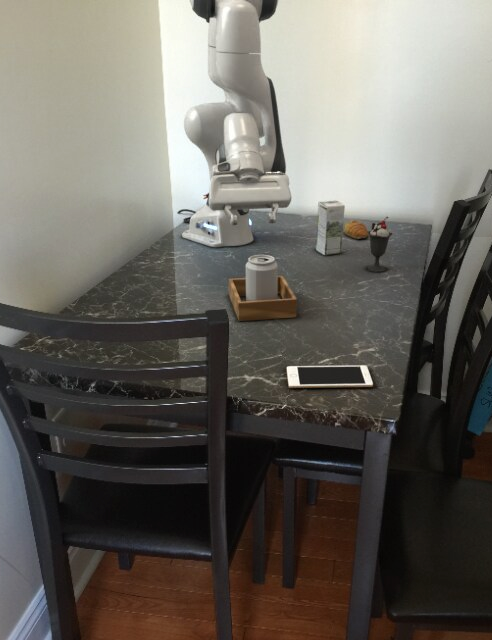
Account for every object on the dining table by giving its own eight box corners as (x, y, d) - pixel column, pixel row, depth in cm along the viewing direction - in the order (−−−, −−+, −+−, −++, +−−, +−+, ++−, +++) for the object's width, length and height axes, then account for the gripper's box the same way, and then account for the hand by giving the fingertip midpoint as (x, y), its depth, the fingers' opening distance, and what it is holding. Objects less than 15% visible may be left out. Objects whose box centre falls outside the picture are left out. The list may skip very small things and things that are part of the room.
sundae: (387, 274, 177) (393, 219, 169) (363, 272, 178) (367, 217, 170) (389, 266, 183) (395, 212, 175) (365, 264, 184) (370, 210, 176)
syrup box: (332, 247, 196) (334, 199, 188) (341, 253, 191) (345, 203, 184) (315, 250, 194) (317, 200, 186) (324, 256, 189) (327, 205, 182)
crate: (229, 295, 162) (228, 278, 159) (282, 292, 164) (282, 275, 162) (238, 321, 149) (238, 303, 146) (296, 317, 151) (297, 299, 149)
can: (281, 302, 159) (282, 255, 152) (271, 314, 152) (271, 265, 146) (252, 298, 161) (252, 251, 154) (241, 309, 154) (240, 261, 148)
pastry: (372, 239, 204) (373, 227, 202) (353, 241, 202) (353, 229, 200) (360, 230, 212) (361, 219, 210) (341, 232, 210) (342, 220, 208)
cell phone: (286, 368, 129) (286, 366, 129) (366, 367, 130) (366, 365, 130) (288, 388, 122) (288, 385, 122) (373, 387, 123) (373, 384, 123)
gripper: (285, 178, 165) (293, 227, 162) (205, 181, 162) (211, 231, 158) (289, 163, 159) (297, 214, 156) (206, 166, 155) (212, 218, 152)
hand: (253, 223), depth 157 cm, fingers open, 8 cm apart
